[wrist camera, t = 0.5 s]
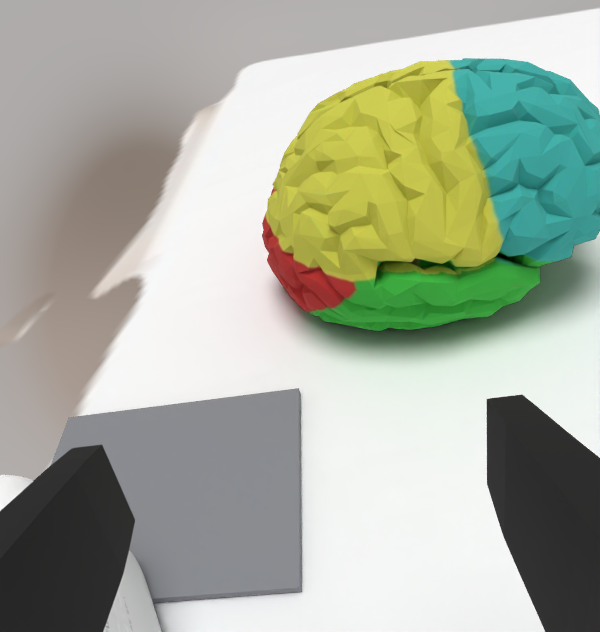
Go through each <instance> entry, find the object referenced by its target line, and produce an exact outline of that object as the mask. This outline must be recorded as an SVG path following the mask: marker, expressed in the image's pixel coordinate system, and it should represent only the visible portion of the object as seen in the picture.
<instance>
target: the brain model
mask: <svg viewBox="0 0 600 632" xmlns="http://www.w3.org/2000/svg"><path fill="white" fill-rule="evenodd" d="M273 186H274V187H273V190H272V193H271V196H270V197H269V199H268V209H267V212H266V214H265V217H264V220H263V223H262V224H263V229H264V231H263V234H262V237H263V241H264V244H265V247H266V249H267V251H268V252H269V255H268V259H267V261H268V263H269V265H270V267H271V269H272V271H273V273H274V274H275V275H276V277H277V278H278V280H279V281H280V282H281V284H282V285H283V287H284V288H285V290H287V292H288V294H289V296H290V297H291V298H292V299H293V300H294V301H295V302H296V303H297V304H298V305H299V306H300V307H301V308H302V309H303V310H305V311H307V312H308V313H310V314H312V315H314V316H319V317H320V318H321V319H322V320H323V321H324V322H332V323H338V324H343V325H348V326H353V327H358V328H362V329H367V330H375V331H381V330H384V329H387V328H395V329H405V330H413V329H420V328H428V327H435V326H439V325H443V324H447V323H450V322H454V321H457V320H461V319H467V318H477V317H488V316H491V315H493V314H494V313H495V312H496V311H497V310H499V309H500V308H501V307H503V306H506V305H509V304H512V303H515V302H518V301H520V300H521V299H522V298H523V297H524V296H525V295H526V294H527V293H528V291H529V290H531V289H532V288H534V287H535V286H536V285H538V284H539V283H540V267H539V266H542V265H545V264H549V263H552V262H556V261H559V260H563V259H566V258H570V257H571V256H572V252H573V247H574V245H577V244H580V243H584V242H587V241H590V240H594V239H595V238H596V237H597V235H598V233H599V231H600V114H599V110H598V108H597V107H596V106H595V105H593V104H592V103H591V102H590V101H589V100H588V99H587V98H586V97H585V96H584V95H583V93H582V92H581V91H580V90H579V89H578V88H577V87H576V86H575V85H574V83H573V82H572V81H571V80H570V79H567V78H565V77H563V76H560V75H558V74H555V73H553V72H551V71H545V70H543V69H541V68H539V67H537V66H535V65H533V64H531V63H529V62H524V61H516V60H508V59H470V58H465V59H463V60H444V61H424V62H418V63H415V64H413V65H411V66H408V67H406V68H404V69H401V70H395V71H389V72H387V73H385V74H380V75H378V76H375V77H373V78H369V79H366V80H363V81H360V82H357V83H354V84H353V85H351V86H350V87H349V88H347V89H345V90H343V91H340V92H338V93H336V94H334V95H333V96H331V97H329V98H327V99H326V100H324V101H322V102H320V103H318V104H317V106H316V107H315V108H314V109H313V110H312V111H311V112H310V114H309V115H308V117H307V119H306V120H305V122H304V124H303V126H302V127H301V129H300V131H299V132H298V136H297V137H296V138H295V139H294V140H293V141H292V142H291V144H290V145H289V147H288V148H287V150H286V151H285V153H284V156H283V159H282V161H281V164H280V169H279V172H278V175H277V177H276V179H275V181H274V183H273Z"/></svg>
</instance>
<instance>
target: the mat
mask: <svg viewBox="0 0 600 632" xmlns="http://www.w3.org/2000/svg"><path fill="white" fill-rule="evenodd" d="M94 445H103V448H104V450H105V452H106V454H107V457H108V459H109V461H110V463H111V466H112V468H113V470H114V473H115V475H116V477H117V479H118V482H119V484H120V486H121V489H122V491H123V493H124V495H125V498H126V500H127V502H128V504H129V507H130V509H131V511H132V514H133V516H134V518H135V524H134V529H133V534H132V538H131V543H130V548H129V550H130V551H131V552H132V554H133V555H134V557H135V558H136V560H137V562H138V563H139V565H140V568H141V570H142V572H143V574H144V577H145V580H146V583H147V586H148V589H149V592H150V595H151V599H152V602H153V603H160V602H173V601H186V600H199V599H213V598H226V597H239V596H253V595H266V594H279V593H293V592H302V548H301V394H300V391H299V388H298V389H290V390H282V391H274V392H267V393H259V394H251V395H243V396H235V397H227V398H219V399H211V400H204V401H196V402H188V403H180V404H172V405H164V406H156V407H148V408H141V409H133V410H125V411H117V412H109V413H101V414H93V415H85V416H78V417H70V418H69V419H68V421H67V424H66V427H65V429H64V432H63V435H62V437H61V440H60V443H59V445H58V448H57V451H56V453H55V456H54V458H53V461H52V464H53V463H54V462H56V461H57V460H58V459H59V458H60V457H62V456H63V455H64V454H65V453H67V452H68V451H69V450H70V449H72V448H77V447H85V446H94ZM52 464H51V465H52Z"/></svg>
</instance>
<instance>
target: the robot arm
mask: <svg viewBox="0 0 600 632" xmlns="http://www.w3.org/2000/svg"><path fill="white" fill-rule="evenodd" d="M487 485H488V488H489V491H490V494H491V498H492V501H493V504H494V508H495V511H496V514H497V517H498V520H499V523H500V527H501V530H502V533H503V536H504V539H505V541H506V543H507V546H508V548H509V550H510V553H511V555H512V557H513V559H514V562H515V564H516V566H517V568H518V571H519V573H520V575H521V578H522V580H523V582H524V584H525V587H526V589H527V591H528V593H529V596H530V598H531V600H532V602H533V605H534V607H535V609H536V611H537V614H538V616H539V618H540V620H541V623H542V625H543V627H544V629H545V632H600V458H599V457H598V456H597V455H595V454H594V453H593V452H592V451H590V450H589V449H588V448H587V447H585V446H584V445H583V444H582V443H580V442H579V441H578V440H577V439H575V438H574V437H573V436H572V435H571V434H569V433H568V432H567V431H566V430H564V429H563V428H562V427H561V426H560V425H558V424H557V423H556V422H555V421H554V420H552V419H551V418H550V417H549V416H548V415H546V414H545V413H544V412H543V411H542V410H540V409H539V408H538V407H537V406H536V405H534V404H533V403H532V402H531V401H529V400H528V399H527V398H526V397H524V396H523V395H516V396H507V397H499V398H490V399H487ZM134 524H135V518H134V516H133V514H132V511H131V509H130V507H129V504H128V502H127V500H126V498H125V495H124V493H123V491H122V489H121V486H120V484H119V482H118V479H117V477H116V475H115V473H114V470H113V468H112V466H111V463H110V461H109V459H108V457H107V454H106V452H105V450H104V448H103V445H94V446H85V447H77V448H72V449H70V450H69V451H68V452H67V453H65V454H64V455H63V456H62V457H60V458H59V459H58V460H57V461H56V462H54V463H53V464H52V465H51V466H50V467H49V468H48V469H46V470H45V471H44V472H43V473H42V474H41V475H40V476H39V477H37V478H36V479H35V480H34V481H33V482H32V483H31V484H30V485H29V486H27V487H26V488H25V489H24V490H23V491H22V492H21V493H20V494H19V495H17V496H16V497H15V498H14V499H13V500H12V501H11V502H10V503H9V504H7V505H6V506H5V507H4V508H3V509H2V510H1V511H0V632H103V631H104V628H105V625H106V622H107V620H108V617H109V614H110V611H111V608H112V605H113V603H114V600H115V597H116V594H117V591H118V588H119V585H120V582H121V579H122V576H123V573H124V569H125V565H126V561H127V557H128V553H129V548H130V543H131V538H132V534H133V529H134Z"/></svg>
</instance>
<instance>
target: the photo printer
mask: <svg viewBox="0 0 600 632" xmlns="http://www.w3.org/2000/svg"><path fill="white" fill-rule="evenodd" d="M32 482H33V480H31V479H28V478H25V477H19V476H12V475H0V511H1V510H2V509H3V508H4V507H5V506H6V505H7V504H9V503H10V502H11V501H12V500H13V499H14V498H15V497H16V496H17V495H19V494H20V493H21V492H22V491H23V490H24V489H25V488H26V487H27V486H29V485H30V484H31V483H32ZM103 632H161V628H160V625H159V622H158V618H157V615H156V612H155V608H154V605H153V602H152V599H151V595H150V592H149V589H148V586H147V583H146V580H145V577H144V574H143V572H142V570H141V568H140V565H139V563H138V562H137V560H136V558H135V557H134V555H133V554H132V552H131V551H130V550H129V553H128V557H127V561H126V565H125V569H124V573H123V576H122V579H121V582H120V585H119V588H118V591H117V594H116V597H115V600H114V603H113V605H112V608H111V611H110V614H109V617H108V620H107V622H106V625H105V628H104V631H103Z"/></svg>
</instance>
